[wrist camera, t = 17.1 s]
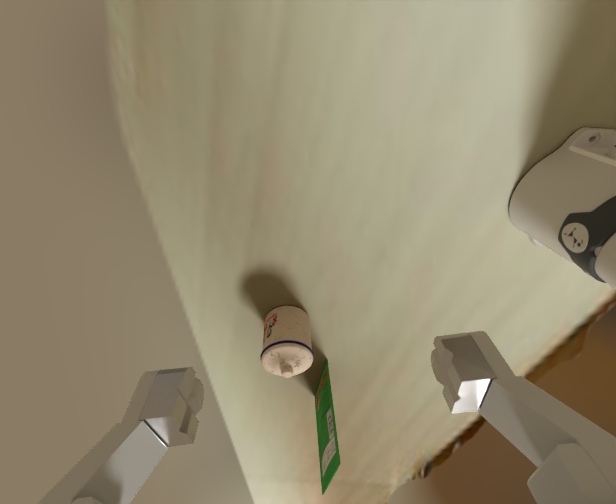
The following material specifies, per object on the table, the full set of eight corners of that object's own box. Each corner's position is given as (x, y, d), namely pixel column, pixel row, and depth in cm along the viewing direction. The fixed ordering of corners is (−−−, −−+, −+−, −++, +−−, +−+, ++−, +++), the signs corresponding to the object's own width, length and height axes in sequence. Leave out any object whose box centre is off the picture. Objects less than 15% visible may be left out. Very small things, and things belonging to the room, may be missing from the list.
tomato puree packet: (316, 396, 76) (325, 495, 60) (312, 396, 76) (319, 495, 59) (329, 359, 67) (343, 462, 51) (324, 359, 67) (336, 462, 51)
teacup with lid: (267, 300, 56) (263, 355, 46) (315, 306, 57) (321, 360, 48) (258, 342, 62) (253, 397, 53) (302, 346, 64) (304, 400, 54)
